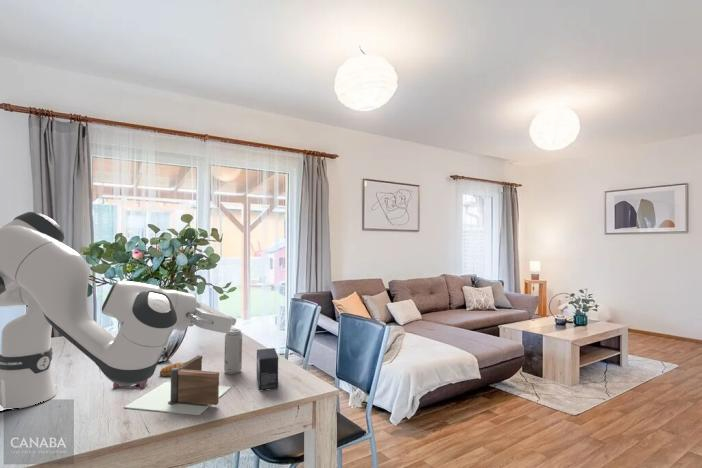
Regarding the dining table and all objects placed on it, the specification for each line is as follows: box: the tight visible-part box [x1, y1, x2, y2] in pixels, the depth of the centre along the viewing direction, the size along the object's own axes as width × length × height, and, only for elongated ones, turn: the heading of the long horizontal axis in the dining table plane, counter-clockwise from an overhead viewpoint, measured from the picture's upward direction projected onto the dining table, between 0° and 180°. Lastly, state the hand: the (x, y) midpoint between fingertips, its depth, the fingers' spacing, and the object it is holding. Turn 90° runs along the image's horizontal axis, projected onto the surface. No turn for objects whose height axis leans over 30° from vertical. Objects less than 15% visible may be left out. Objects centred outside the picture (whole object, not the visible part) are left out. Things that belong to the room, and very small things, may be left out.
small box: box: [256, 347, 279, 391], centre depth 126 cm, size 11×6×10 cm, turn 19°
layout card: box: [123, 381, 232, 416], centre depth 114 cm, size 23×19×1 cm
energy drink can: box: [223, 328, 243, 375], centre depth 136 cm, size 6×6×15 cm
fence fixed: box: [170, 355, 203, 403], centre depth 116 cm, size 2×14×10 cm, turn 171°
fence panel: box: [178, 369, 220, 406], centre depth 109 cm, size 2×12×9 cm, turn 82°
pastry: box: [159, 361, 186, 377], centre depth 134 cm, size 9×7×4 cm
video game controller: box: [112, 379, 149, 389], centre depth 123 cm, size 10×5×7 cm, turn 93°
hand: (233, 321), depth 99 cm, fingers closed
